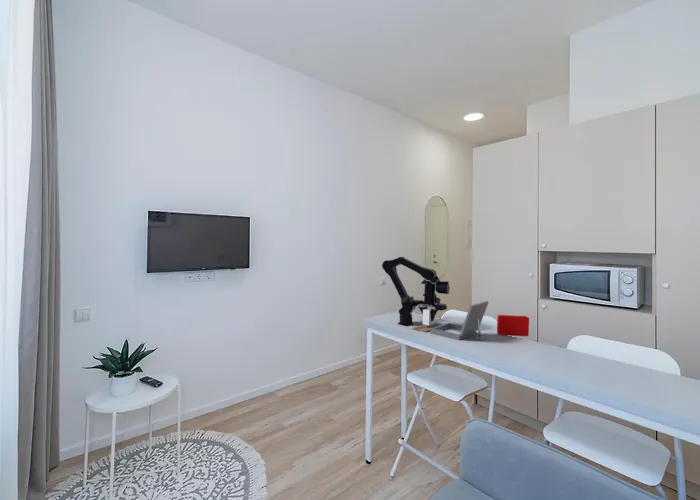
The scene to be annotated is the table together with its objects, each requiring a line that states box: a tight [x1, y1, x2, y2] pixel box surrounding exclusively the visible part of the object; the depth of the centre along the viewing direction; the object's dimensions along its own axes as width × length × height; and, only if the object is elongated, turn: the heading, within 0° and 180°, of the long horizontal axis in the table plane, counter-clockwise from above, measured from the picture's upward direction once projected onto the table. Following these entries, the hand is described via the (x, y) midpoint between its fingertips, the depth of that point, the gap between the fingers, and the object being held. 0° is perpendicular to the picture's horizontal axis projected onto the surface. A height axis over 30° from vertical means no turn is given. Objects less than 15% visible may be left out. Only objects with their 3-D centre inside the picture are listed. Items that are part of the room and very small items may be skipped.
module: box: [422, 307, 436, 325], centre depth 190 cm, size 4×6×8 cm
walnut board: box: [411, 322, 442, 333], centre depth 191 cm, size 9×20×1 cm, turn 136°
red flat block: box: [496, 314, 530, 337], centre depth 180 cm, size 15×3×10 cm, turn 84°
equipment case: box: [430, 319, 485, 341], centre depth 177 cm, size 24×19×10 cm
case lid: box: [459, 300, 490, 336], centre depth 172 cm, size 16×19×1 cm
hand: (428, 320), depth 190 cm, fingers closed on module, 4 cm apart
